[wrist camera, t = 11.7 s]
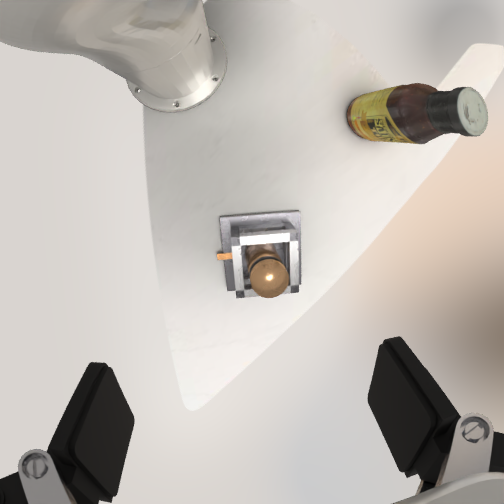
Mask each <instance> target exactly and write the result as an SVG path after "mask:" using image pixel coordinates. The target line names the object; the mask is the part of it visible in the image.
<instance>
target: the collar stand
mask: <svg viewBox="0 0 504 504" xmlns="http://www.w3.org/2000/svg"><path fill="white" fill-rule="evenodd" d="M220 226H221V236H222V245H223V253H222V254H217V258H218V260H224V264H225V274H226V283H227V291H235V290H236V298H244V297H255V296H259V295H258V294H256V293H255V291H254V290H253V288H252V285H251V282H250V279H249V272H248V268H247V263H246V259H245V251H246V248H247V246H248V245H254V244H266V243H272V244H273V245H274V247H275V249H276V251H277V253H278V255H279V257H280V259H281V261H282V262H283V264H284V265H285V267H286V270H287V272H288V275H289V284H288V286H287V288H286V290H285V291H284V292H283V293H282V294H287V293H296V292H299V285H300V284H301V224H300V211H299V210H296V211H281V212H268V213H254V214H242V215H230V216H220Z"/></svg>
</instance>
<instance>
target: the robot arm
mask: <svg viewBox="0 0 504 504" xmlns="http://www.w3.org/2000/svg"><path fill="white" fill-rule="evenodd" d="M212 39H214V40H215V41H213V42H212V41H211V40H212ZM0 41H1V42H3V43H5V44H8V45H11V46H14V47H18V48H21V49H27V50H32V51H37V52H48V53H63V54H76V55H80V56H83V57H86V58H89V59H91V60H93V61H95V62H97V63H98V64H100V65H102V66H104V67H106V68H107V69H109V70H111V71H113V72H114V73H116V74H118V75H120V76H121V77H123V78H125V79H126V81H127V84H128V87H129V89H130V91H131V92H132V94H133V95H134V97H135V98H137V100H138V101H139V102H141V103H142V104H144V105H146V106H147V107H149V108H152V109H155V110H158V111H163V112H178V111H183V110H187V109H190V108H193V107H195V106H197V105H199V104H201V103H202V102H204V101H205V100H207V99H208V98H209V97H210V96H211V95H212V94H213V93H214V92H215V91H216V90H217V88H218V87H219V85H220V84H221V82H222V80H223V78H224V75H225V71H226V68H227V55H226V50H225V47H224V44H223V42H222V40H221V39H220V37H219V36H218V35H217V34H216V33H215V32H214V31H213V30H212V29H210V28H209V27H208V26H207V22H206V17H205V13H204V8H203V2H202V0H0ZM214 78H217V79H218V80H217V81H213V79H214ZM139 89H140V90H141V91H140V92H139V93H138V90H139ZM176 104H179V107H176ZM368 404H369V406H370V408H371V410H372V412H373V414H374V416H375V419H376V421H377V423H378V425H379V427H380V429H381V431H382V434H383V436H384V438H385V440H386V442H387V445H388V447H389V449H390V451H391V453H392V456H393V458H394V460H395V462H396V464H397V467H398V469H399V471H400V472H405V475H406V477H407V478H408V477H410V476H413V475H416V474H418V475H419V476H420V479H421V482H420V485H419V487H418V490H417V493H416V495H415V496H412V497H410V498H407V499H404V500H401V501H398V502H396V503H393V504H504V434H503V433H499V432H494V431H493V425H492V423H491V421H490V420H489V419H488V418H487V417H485V416H484V415H482V414H479V413H469V414H466V415H464V416H463V417H461V416H460V415H459V413H458V412H457V410H456V409H455V408H454V406H453V405H452V403H451V402H450V400H449V399H448V398H447V396H446V395H445V393H444V392H443V391H442V389H441V388H440V387H439V385H438V384H437V382H436V381H435V380H434V378H433V377H432V376H431V374H430V373H429V372H428V370H427V369H426V368H425V367H424V366H423V365H422V363H421V362H420V361H419V360H418V358H417V357H416V356H415V354H414V353H413V352H412V350H411V349H410V348H409V346H408V345H407V344H406V343H405V341H404V340H403V339H402V338H401V337H394V338H389V339H385V340H384V341H383V344H381V345H380V346H379V349H378V355H377V359H376V363H375V368H374V372H373V376H372V381H371V385H370V389H369V393H368ZM133 427H134V416H133V413H132V412H131V409H130V407H129V405H128V403H127V401H126V399H125V397H124V395H123V392H122V390H121V388H120V386H119V383H118V382H117V379H116V377H115V374H114V372H113V370H112V368H111V367H108V365H107V364H106V363H97V362H95V363H94V362H91V363H90V364H89V365H88V367H87V368H86V370H85V372H84V374H83V376H82V378H81V380H80V382H79V384H78V386H77V388H76V390H75V392H74V394H73V396H72V398H71V400H70V402H69V404H68V406H67V408H66V410H65V412H64V414H63V416H62V418H61V420H60V422H59V425H58V427H57V429H56V431H55V433H54V435H53V437H52V440H51V442H50V444H49V446H48V450H47V452H46V451H43V450H41V449H34V450H30V451H28V452H26V453H25V454H24V455H23V456H22V457H21V459H20V460H19V464H18V472H16V473H13V474H11V475H9V476H6V477H4V478H2V479H0V504H98V503H99V500H101V501H105V502H110V503H111V502H112V498H113V496H116V495H117V493H118V488H119V484H120V479H121V475H122V471H123V467H124V462H125V458H126V454H127V450H128V446H129V442H130V439H131V435H132V431H133Z"/></svg>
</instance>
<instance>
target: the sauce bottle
mask: <svg viewBox="0 0 504 504" xmlns="http://www.w3.org/2000/svg"><path fill="white" fill-rule="evenodd" d="M347 119H348V122H349V125H350V127H351V128H352V130H353V131H354V132H355V133H356V134H357V135H358V136H360V137H361V138H364V139H367V140H370V141H383V142H400V143H413V144H425V143H427V142H428V141H430V140H432V139H434V138H436V137H438V136H440V135H443V134H448V133H460V134H461V135H464V136H480V135H481V134H482V133H483V132H484V131H485V129H486V127H487V122H488V112H487V108H486V104H485V102H484V99H483V98H482V96H481V95H480V94H479V93H478V92H477V91H476V90H474V89H473V88H471V87H460V88H455V89H453V90H452V91H437V89H436V88H433V87H432V86H429V85H426V84H420V83H415V84H409V85H400V86H396V87H391V88H387V89H383V90H379V91H375V92H371V93H367V94H364V95H362V96H360V97H357V98H356V99H354V101H353V102H352V103H351V104H350V106H349V108H348V112H347Z"/></svg>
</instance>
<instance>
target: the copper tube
mask: <svg viewBox="0 0 504 504" xmlns="http://www.w3.org/2000/svg"><path fill="white" fill-rule="evenodd" d="M245 259H246V263H247V268H248V272H249V279H250V282H251V285H252V288H253V290H254V291H255V293H256V294H258V295H259V296H261V297H265V298H273V297H276V296H279V295H280V294H282V293H283V292H284V291H285V290H286V288H287V286H288V284H289V275H288V272H287V270H286V267H285V265H284V264H283V262H282V261H281V259H280V257H279V255H278V253H277V251H276V249H275V247H274V245H273V244H272V243H266V244H254V245H248V246H247V248H246V251H245Z"/></svg>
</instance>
